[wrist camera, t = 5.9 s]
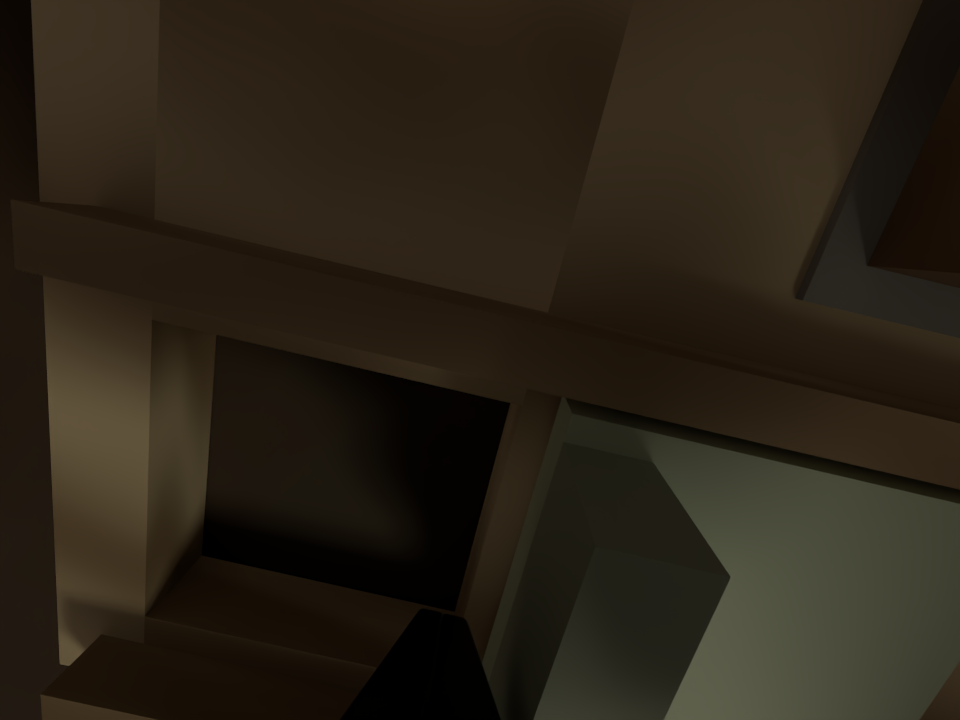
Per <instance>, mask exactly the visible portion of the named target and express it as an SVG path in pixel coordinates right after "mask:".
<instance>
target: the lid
mask: <svg viewBox="0 0 960 720" xmlns="http://www.w3.org/2000/svg"><path fill="white" fill-rule="evenodd" d="M959 662H960V490H959V489H955V488H951V487H946V486H942V485H938V484H933V483H929V482H925V481H921V480H916V479H912V478H908V477H903V476H899V475H895V474H891V473H886V472H882V471H878V470H873V469H869V468H865V467H861V466H856V465H852V464H848V463H843V462H839V461H835V460H831V459H826V458H822V457H818V456H813V455H809V454H805V453H801V452H796V451H792V450H788V449H783V448H779V447H775V446H771V445H766V444H762V443H758V442H753V441H749V440H745V439H740V438H736V437H732V436H728V435H723V434H719V433H715V432H710V431H706V430H702V429H698V428H693V427H689V426H685V425H680V424H676V423H672V422H668V421H663V420H659V419H655V418H650V417H646V416H642V415H638V414H633V413H629V412H625V411H620V410H616V409H612V408H608V407H603V406H599V405H595V404H590V403H586V402H582V401H577V400H573V399H569V398H565V397H562V398H561V402H560V405H559V408H558V412H557V415H556V418H555V422H554V425H553V428H552V432H551V435H550V438H549V442H548V445H547V448H546V452H545V455H544V458H543V462H542V465H541V468H540V472H539V475H538V478H537V482H536V485H535V488H534V492H533V495H532V498H531V502H530V505H529V508H528V512H527V515H526V518H525V522H524V525H523V528H522V532H521V535H520V538H519V542H518V545H517V548H516V552H515V555H514V558H513V562H512V565H511V568H510V572H509V575H508V578H507V582H506V585H505V588H504V592H503V595H502V598H501V602H500V605H499V608H498V612H497V615H496V618H495V622H494V625H493V628H492V631H491V635H490V638H489V641H488V645H487V648H486V651H485V655H484V658H483V661H482V665H483V668H484V671H485V674H486V677H487V680H488V683H489V686H490V689H491V692H492V695H493V698H494V701H495V703H496V706H497V709H498V712H499V715H500V718H501V720H920V718H921V717H922V715H923V714H924V712H925V711H926V710H927V708H928V707H929V705H930V704H931V702H932V701H933V699H934V698H935V696H936V695H937V694H938V692H939V691H940V689H941V688H942V686H943V685H944V683H945V682H946V680H947V679H948V678H949V676H950V675H951V673H952V672H953V670H954V669H955V667H956V666H957V664H958V663H959Z"/></svg>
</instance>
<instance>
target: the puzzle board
mask: <svg viewBox="0 0 960 720" xmlns="http://www.w3.org/2000/svg"><path fill="white" fill-rule="evenodd" d="M31 11H32V34H33V57H34V80H35V103H36V126H37V149H38V172H39V195H40V202H38V201H25V200H12V199H11V214H12V231H13V247H14V264H15V269H16V270H20V271H24V272H28V273H33V274H37V275H41V276H43V287H44V310H45V333H46V356H47V379H48V402H49V425H50V448H51V471H52V494H53V517H54V540H55V563H56V585H57V608H58V631H59V654H60V664H62V665H67V666H69V667H68V668H67V669H66V670H65V671H64V672H63V673H62V674H61V675H60V676H59V677H58V678H57V679H56V680H55V681H54V682H53V683H52V684H51V685H50V686H49V687H48V688H47V689H46V690H45V691H44V692H43V693H42V694H41V708H42V720H340V719H341V717H342V716H343V714H344V713H345V712H346V710H347V709H348V707H349V706H350V705H351V703H352V702H353V701H354V699H355V698H356V696H357V695H358V694H359V692H360V691H361V689H362V688H363V687H364V685H365V684H366V683H367V681H368V680H369V678H370V677H371V676H372V674H373V673H374V671H375V670H376V669H377V667H378V666H379V665H380V663H381V662H382V660H383V659H384V658H385V656H386V655H387V653H388V652H389V651H390V649H391V648H392V647H393V645H394V644H395V642H396V641H397V640H398V638H399V637H400V635H401V634H402V633H403V631H404V630H405V629H406V627H407V626H408V624H409V623H410V622H411V620H412V619H413V617H414V616H415V615H416V613H417V612H418V611H419V610H420V609H422V608H424V609H429V610H433V611H438V612H441V613H442V614H451V615H456V616H460V617H464V618H465V619H466V620H467V622H468V624H469V627H470V630H471V633H472V636H473V639H474V642H475V645H476V648H477V650H478V653H479V656H480V659H481V662H482V661H483V658H484V655H485V651H486V648H487V645H488V641H489V638H490V635H491V631H492V628H493V625H494V622H495V618H496V615H497V612H498V608H499V605H500V602H501V598H502V595H503V592H504V588H505V585H506V582H507V578H508V575H509V572H510V568H511V565H512V562H513V558H514V555H515V552H516V548H517V545H518V542H519V538H520V535H521V532H522V528H523V525H524V522H525V518H526V515H527V512H528V508H529V505H530V502H531V498H532V495H533V492H534V488H535V485H536V482H537V478H538V475H539V472H540V468H541V465H542V462H543V458H544V455H545V452H546V448H547V445H548V442H549V438H550V435H551V432H552V428H553V425H554V422H555V418H556V415H557V412H558V408H559V405H560V402H561V398H562V397H565V398H569V399H573V400H577V401H582V402H586V403H590V404H595V405H599V406H603V407H608V408H612V409H616V410H620V411H625V412H629V413H633V414H638V415H642V416H646V417H650V418H655V419H659V420H663V421H668V422H672V423H676V424H680V425H685V426H689V427H693V428H698V429H702V430H706V431H710V432H715V433H719V434H723V435H728V436H732V437H736V438H740V439H745V440H749V441H753V442H758V443H762V444H766V445H771V446H775V447H779V448H783V449H788V450H792V451H796V452H801V453H805V454H809V455H813V456H818V457H822V458H826V459H831V460H835V461H839V462H843V463H848V464H852V465H856V466H861V467H865V468H869V469H873V470H878V471H882V472H886V473H891V474H895V475H899V476H903V477H908V478H912V479H916V480H921V481H925V482H929V483H933V484H938V485H942V486H946V487H951V488H955V489H959V490H960V288H957V287H953V286H948V285H944V284H940V283H936V282H932V281H928V280H924V279H920V278H915V277H911V276H907V275H903V274H899V273H895V272H891V271H887V270H882V269H878V268H874V267H870V266H867V265H868V263H869V260H870V258H871V256H872V254H873V252H874V250H875V248H876V245H877V243H878V241H879V239H880V237H881V235H882V232H883V230H884V228H885V226H886V224H887V222H888V219H889V217H890V215H891V213H892V211H893V209H894V207H895V204H896V202H897V200H898V198H899V196H900V194H901V191H902V189H903V187H904V185H905V183H906V181H907V179H908V176H909V174H910V172H911V170H912V168H913V166H914V163H915V161H916V159H917V157H918V155H919V153H920V151H921V148H922V146H923V144H924V142H925V140H926V138H927V135H928V133H929V131H930V129H931V127H932V125H933V123H934V120H935V118H936V116H937V114H938V112H939V110H940V107H941V105H942V103H943V101H944V99H945V97H946V94H947V92H948V90H949V88H950V86H951V84H952V82H953V79H954V77H955V75H956V73H957V71H958V69H959V66H960V0H31ZM216 335H220V336H224V337H229V338H233V339H237V340H241V341H246V342H250V343H254V344H259V345H263V346H267V347H272V348H276V349H280V350H285V351H289V352H293V353H297V354H302V355H306V356H310V357H315V358H319V359H323V360H328V361H332V362H336V363H340V364H345V365H349V366H353V367H358V368H362V369H366V370H371V371H375V372H379V373H383V374H388V375H392V376H396V377H401V378H405V379H409V380H414V381H418V382H422V383H427V384H431V385H435V386H439V387H444V388H448V389H452V390H457V391H461V392H465V393H470V394H474V395H478V396H482V397H487V398H491V399H495V400H500V401H504V402H508V403H510V406H509V410H508V414H507V417H506V421H505V425H504V429H503V432H502V436H501V440H500V444H499V447H498V451H497V455H496V459H495V462H494V466H493V470H492V474H491V477H490V481H489V485H488V489H487V492H486V496H485V500H484V504H483V507H482V511H481V515H480V519H479V522H478V526H477V530H476V534H475V537H474V541H473V545H472V549H471V552H470V556H469V560H468V564H467V567H466V571H465V575H464V579H463V582H462V586H461V590H460V594H459V597H458V601H457V605H456V609H455V612H453V611H449V610H444V609H440V608H435V607H431V606H426V605H422V604H418V603H413V602H409V601H404V600H400V599H395V598H391V597H386V596H382V595H377V594H373V593H368V592H364V591H359V590H355V589H350V588H346V587H341V586H337V585H332V584H328V583H323V582H319V581H314V580H310V579H305V578H301V577H296V576H292V575H287V574H283V573H278V572H274V571H269V570H265V569H260V568H256V567H251V566H247V565H242V564H238V563H233V562H229V561H224V560H220V559H215V558H211V557H206V556H202V545H203V530H204V515H205V500H206V485H207V470H208V455H209V440H210V425H211V410H212V395H213V380H214V364H215V349H216ZM920 720H960V662H959V663H958V664H957V666H956V667H955V669H954V670H953V672H952V673H951V675H950V676H949V678H948V679H947V680H946V682H945V683H944V685H943V686H942V688H941V689H940V691H939V692H938V694H937V695H936V696H935V698H934V699H933V701H932V702H931V704H930V705H929V707H928V708H927V710H926V711H925V712H924V714H923V715H922V717H921V718H920Z"/></svg>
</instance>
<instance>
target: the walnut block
mask: <svg viewBox="0 0 960 720" xmlns="http://www.w3.org/2000/svg"><path fill="white" fill-rule="evenodd" d="M867 266H870V267H874V268H878V269H882V270H887V271H891V272H895V273H899V274H903V275H907V276H911V277H915V278H920V279H924V280H928V281H932V282H936V283H940V284H944V285H948V286H953V287H957V288H960V66H959V69H958V71H957V73H956V75H955V77H954V79H953V82H952V84H951V86H950V88H949V90H948V92H947V94H946V97H945V99H944V101H943V103H942V105H941V107H940V110H939V112H938V114H937V116H936V118H935V120H934V123H933V125H932V127H931V129H930V131H929V133H928V135H927V138H926V140H925V142H924V144H923V146H922V148H921V151H920V153H919V155H918V157H917V159H916V161H915V163H914V166H913V168H912V170H911V172H910V174H909V176H908V179H907V181H906V183H905V185H904V187H903V189H902V191H901V194H900V196H899V198H898V200H897V202H896V204H895V207H894V209H893V211H892V213H891V215H890V217H889V219H888V222H887V224H886V226H885V228H884V230H883V232H882V235H881V237H880V239H879V241H878V243H877V245H876V248H875V250H874V252H873V254H872V256H871V258H870V260H869V263H868V265H867Z"/></svg>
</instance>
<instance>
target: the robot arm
mask: <svg viewBox="0 0 960 720" xmlns="http://www.w3.org/2000/svg"><path fill="white" fill-rule="evenodd" d="M340 720H501V718H500V715H499V712H498V709H497V706H496V703H495V701H494V698H493V695H492V692H491V689H490V686H489V683H488V680H487V677H486V674H485V671H484V668H483V665H482V662H481V659H480V656H479V653H478V650H477V648H476V645H475V642H474V639H473V636H472V633H471V630H470V627H469V624H468V622H467V620H466V619H465V618H464V617H460V616H456V615H451V614H442V613H441V612H438V611H433V610H429V609H424V608H422V609H420V610H419V611H418V612H417V613H416V615H415V616H414V617H413V619H412V620H411V622H410V623H409V624H408V626H407V627H406V629H405V630H404V631H403V633H402V634H401V635H400V637H399V638H398V640H397V641H396V642H395V644H394V645H393V647H392V648H391V649H390V651H389V652H388V653H387V655H386V656H385V658H384V659H383V660H382V662H381V663H380V665H379V666H378V667H377V669H376V670H375V671H374V673H373V674H372V676H371V677H370V678H369V680H368V681H367V683H366V684H365V685H364V687H363V688H362V689H361V691H360V692H359V694H358V695H357V696H356V698H355V699H354V701H353V702H352V703H351V705H350V706H349V707H348V709H347V710H346V712H345V713H344V714H343V716H342V717H341V719H340Z"/></svg>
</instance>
